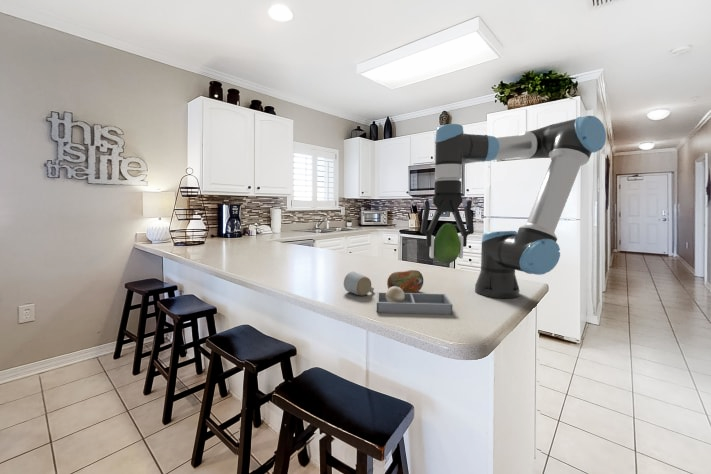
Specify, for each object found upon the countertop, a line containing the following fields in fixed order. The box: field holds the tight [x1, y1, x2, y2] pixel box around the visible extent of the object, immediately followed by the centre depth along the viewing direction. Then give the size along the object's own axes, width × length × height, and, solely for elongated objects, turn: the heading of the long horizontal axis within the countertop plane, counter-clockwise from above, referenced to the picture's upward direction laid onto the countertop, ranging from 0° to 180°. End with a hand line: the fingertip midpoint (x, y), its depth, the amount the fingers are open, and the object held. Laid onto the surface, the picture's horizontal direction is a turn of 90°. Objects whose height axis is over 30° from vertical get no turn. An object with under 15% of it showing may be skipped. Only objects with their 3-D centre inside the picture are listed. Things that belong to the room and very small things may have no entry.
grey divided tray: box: [376, 291, 453, 315], centre depth 105 cm, size 23×12×3 cm, turn 86°
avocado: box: [434, 222, 460, 265], centre depth 97 cm, size 8×8×12 cm
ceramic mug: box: [343, 271, 375, 297], centre depth 121 cm, size 11×8×8 cm
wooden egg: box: [385, 286, 405, 303], centre depth 105 cm, size 6×6×6 cm
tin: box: [386, 269, 424, 293], centre depth 121 cm, size 15×3×8 cm, turn 117°
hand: (445, 257), depth 98 cm, fingers closed on avocado, 8 cm apart
